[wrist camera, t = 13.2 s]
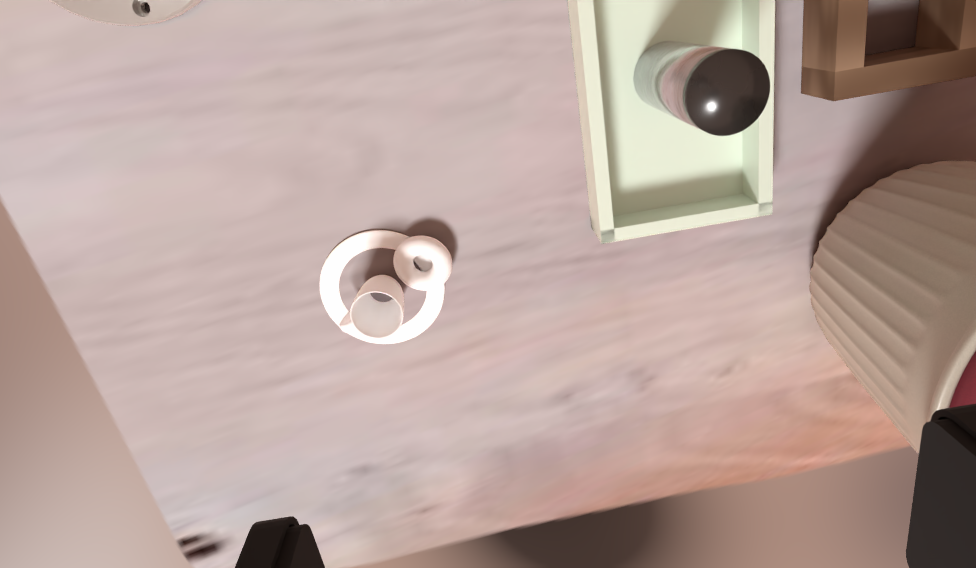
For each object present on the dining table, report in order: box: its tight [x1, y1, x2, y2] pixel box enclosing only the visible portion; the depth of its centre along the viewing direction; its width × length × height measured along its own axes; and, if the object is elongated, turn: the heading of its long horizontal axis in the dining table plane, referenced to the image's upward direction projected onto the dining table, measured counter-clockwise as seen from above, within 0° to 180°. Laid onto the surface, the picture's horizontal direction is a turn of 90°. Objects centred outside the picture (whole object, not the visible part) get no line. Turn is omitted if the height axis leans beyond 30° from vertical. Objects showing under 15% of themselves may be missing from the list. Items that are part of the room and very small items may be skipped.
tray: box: [567, 0, 775, 244], centre depth 35 cm, size 17×10×3 cm, turn 9°
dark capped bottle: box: [633, 41, 770, 136], centre depth 31 cm, size 4×4×9 cm
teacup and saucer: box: [320, 230, 452, 344], centre depth 39 cm, size 9×8×4 cm
